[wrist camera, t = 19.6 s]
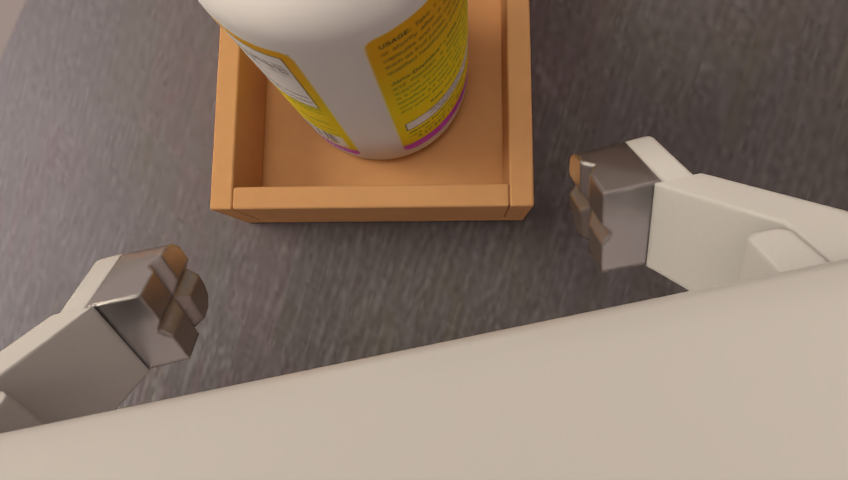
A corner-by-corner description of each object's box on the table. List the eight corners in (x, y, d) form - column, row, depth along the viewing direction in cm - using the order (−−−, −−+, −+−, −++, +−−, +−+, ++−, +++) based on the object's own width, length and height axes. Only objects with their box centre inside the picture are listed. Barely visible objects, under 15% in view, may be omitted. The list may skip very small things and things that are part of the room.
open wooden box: (247, 222, 20) (209, 209, 17) (259, -31, 21) (225, -84, 18) (523, 220, 19) (534, 206, 16) (518, -44, 20) (527, -103, 17)
